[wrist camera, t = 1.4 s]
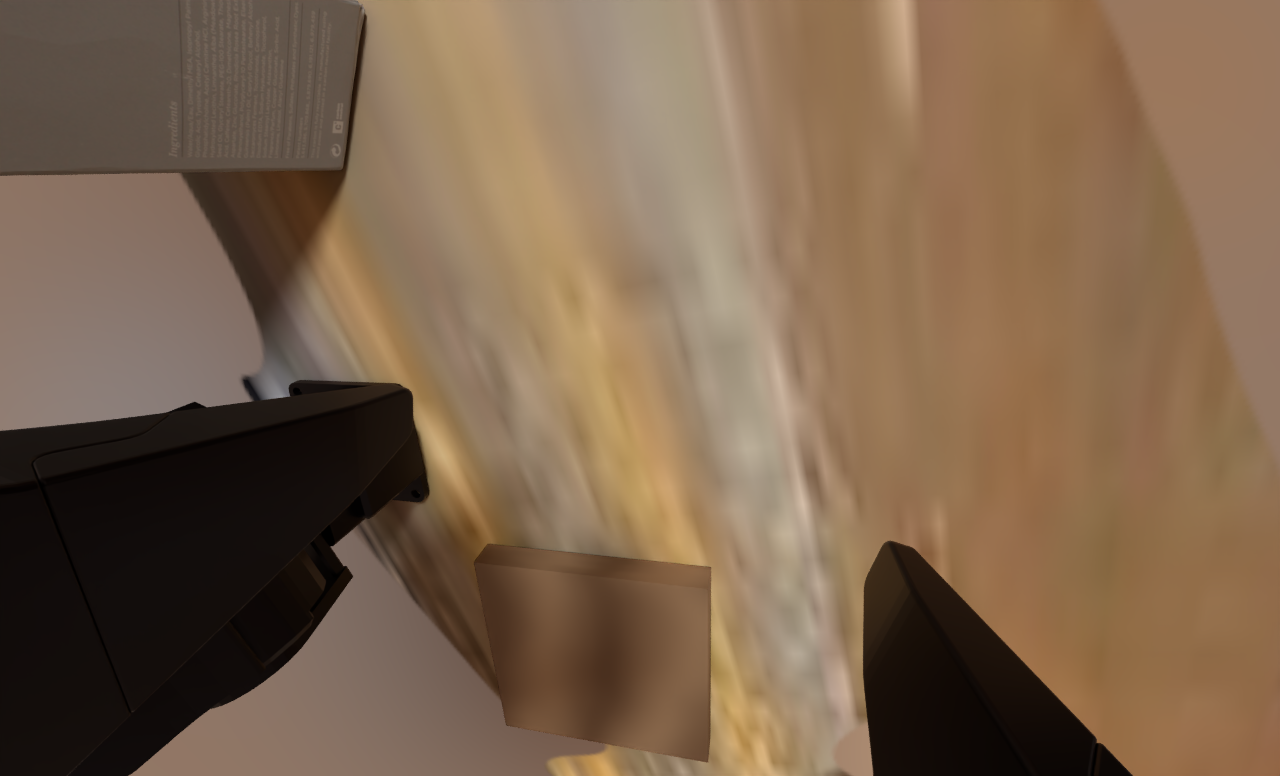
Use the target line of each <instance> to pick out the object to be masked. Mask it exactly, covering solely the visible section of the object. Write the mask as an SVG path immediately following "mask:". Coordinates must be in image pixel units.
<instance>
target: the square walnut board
mask: <svg viewBox="0 0 1280 776" xmlns="http://www.w3.org/2000/svg"><path fill="white" fill-rule="evenodd" d="M474 565H475V570H476V575H477V580H478V585H479V591H480V596H481V601H482V606H483V611H484V616H485V621H486V626H487V631H488V636H489V641H490V646H491V651H492V656H493V661H494V666H495V671H496V676H497V681H498V686H499V691H500V696H501V701H502V706H503V711H504V717H505V722H506V725H507V726H512V727H518V728H523V729H528V730H534V731H539V732H545V733H550V734H556V735H561V736H567V737H572V738H577V739H583V740H588V741H594V742H599V743H605V744H610V745H616V746H621V747H626V748H632V749H637V750H643V751H648V752H654V753H659V754H665V755H670V756H675V757H681V758H686V759H692V760H697V761H703V762H708V757H709V745H710V689H711V567H703V566H693V565H684V564H674V563H665V562H655V561H645V560H636V559H626V558H617V557H607V556H598V555H588V554H579V553H569V552H560V551H550V550H540V549H531V548H521V547H512V546H502V545H493V544H487V546H486V547H485V548H484V550H483V551H482V552H481V554H480V555H479V556H478V558H477V559H476V560H475V562H474Z"/></svg>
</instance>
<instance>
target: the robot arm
mask: <svg viewBox="0 0 1280 776" xmlns="http://www.w3.org/2000/svg"><path fill="white" fill-rule="evenodd" d="M300 390H301V391H300ZM289 393H290V396H291V397H283V398H276V399H268V400H260V401H253V402H246V403H237V404H230V405H223V406H215V407H205V406H203V405H201V404H198V403H196V402H193V403H190V404H187V405H185V406H182V407H180V408H177V409H174V410H172V411H170V412H167V413H160V414H153V415H145V416H137V417H129V418H121V419H113V420H106V421H105V420H104V421H96V422H86V423H77V424H67V425H57V426H48V427H37V428H27V429H17V430H6V431H0V776H128V775H130V774H132V773H133V772H134V771H136V770H137V769H138V768H139V767H141V766H142V765H143V764H144V763H145V762H146V761H148V760H149V759H150V758H151V757H152V756H153V755H155V754H156V753H157V752H158V751H159V750H160V749H162V748H163V747H164V746H165V745H166V744H167V743H169V742H170V741H171V740H172V739H173V738H174V737H176V736H177V735H178V734H179V733H180V732H181V731H183V730H184V729H185V728H186V727H188V726H189V725H190V724H191V723H192V722H194V721H195V720H196V719H197V718H199V717H200V716H201V715H203V714H204V713H205V712H207V711H208V710H209V709H212V708H216V707H219V706H222V705H224V704H227V703H229V702H231V701H233V700H235V699H237V698H239V697H241V696H242V695H244V694H246V693H248V692H249V691H251V690H252V689H254V688H255V687H257V686H258V685H260V684H261V683H263V682H264V681H265V680H267V679H268V678H269V677H270V676H272V675H273V674H274V673H276V672H277V671H278V670H279V669H280V668H282V667H283V666H284V665H285V664H286V663H287V662H288V661H289V660H290V659H291V658H292V657H293V656H294V655H295V654H296V653H297V652H298V651H299V650H300V649H301V648H302V647H303V645H304V644H305V643H306V641H307V640H308V639H309V637H310V636H311V635H312V633H313V632H314V630H315V629H316V628H317V626H318V625H319V624H320V622H321V621H322V619H323V618H324V617H325V615H326V614H327V612H328V611H329V609H330V608H331V607H332V605H333V604H334V603H335V601H336V600H337V598H338V597H339V596H340V594H341V593H342V591H343V590H344V589H345V587H346V586H347V584H348V583H349V581H350V580H351V579H352V577H353V575H352V574H351V572H350V571H349V569H348V568H347V566H343V565H342V563H341V562H340V560H339V559H338V557H337V556H336V554H335V553H334V552H333V550H332V549H331V547H330V546H334V545H335V544H336V543H337V542H338V541H340V540H341V539H342V538H343V537H344V536H345V535H347V534H348V533H349V532H350V531H351V530H353V529H354V528H355V527H356V526H357V525H358V524H360V523H361V522H362V521H363V520H364V519H365V518H367V519H369V518H371V517H373V516H374V515H375V514H376V513H377V512H378V511H380V510H381V509H382V508H383V507H384V506H385V505H387V504H388V503H389V502H390V501H391V500H400V501H411V502H421V501H423V500H424V499H425V498H426V497H427V496H428V494H429V489H428V485H427V480H426V476H425V471H424V467H423V462H422V458H421V453H420V449H419V444H418V440H417V436H416V431H415V427H414V422H413V395H412V392H411V391H410V390H409V389H407V388H404V387H403V386H401V385H400V384H396V383H369V382H341V381H312V380H299V381H296V382H294V383H292V384H290V385H289ZM417 491H418V492H419V493H418V492H417ZM863 678H864V691H865V700H866V709H867V719H868V728H869V737H870V746H871V755H872V765H873V775H874V776H1133V775H1132V774H1131V773H1130V772H1129V771H1128V770H1127V769H1126V768H1125V767H1124V766H1123V765H1122V764H1121V763H1120V762H1119V761H1118V760H1117V759H1116V758H1115V757H1114V755H1113V754H1112V753H1111V752H1110V751H1109V750H1108V749H1107V748H1106V747H1105V746H1104V745H1103V744H1101V743H1097V739H1096V737H1095V736H1094V735H1093V734H1092V733H1091V732H1090V731H1089V730H1088V729H1087V728H1086V727H1085V726H1084V724H1083V723H1082V722H1081V721H1080V720H1079V719H1078V718H1077V717H1076V716H1075V715H1074V714H1073V713H1072V712H1071V711H1070V710H1069V709H1068V708H1067V707H1066V706H1065V705H1064V704H1063V703H1062V702H1061V701H1060V700H1059V699H1058V697H1057V696H1056V695H1055V694H1054V693H1053V692H1052V691H1051V690H1050V689H1049V688H1048V687H1047V686H1046V685H1045V684H1044V683H1043V682H1042V681H1041V680H1040V679H1039V678H1038V677H1037V676H1036V675H1035V674H1034V673H1033V672H1032V670H1031V669H1030V668H1029V667H1028V666H1027V665H1026V664H1025V663H1024V662H1023V661H1022V660H1021V659H1020V658H1019V657H1018V656H1017V655H1016V654H1015V653H1014V652H1013V651H1012V650H1011V649H1010V648H1009V647H1008V646H1007V645H1006V644H1005V642H1004V641H1003V640H1002V639H1001V638H1000V637H999V636H998V635H997V634H996V633H995V632H994V631H993V630H992V629H991V628H990V627H989V626H988V625H987V624H986V623H985V622H984V621H983V620H982V619H981V618H980V617H979V615H978V614H977V613H976V612H975V611H974V610H973V609H972V608H971V607H970V606H969V605H968V604H967V603H966V602H965V601H964V600H963V599H962V598H961V597H960V596H959V595H958V594H957V593H956V592H955V591H954V590H953V588H952V587H951V586H950V585H949V584H948V583H947V582H946V581H945V580H944V579H943V578H942V577H941V576H940V575H939V574H938V573H937V572H936V571H935V570H934V569H933V568H932V567H931V566H930V565H929V564H928V563H927V562H926V560H925V559H924V558H923V557H922V556H921V555H920V554H919V553H918V552H917V551H916V550H915V549H914V548H912V547H910V546H906V545H903V544H900V543H897V542H893V541H887V542H885V543H884V544H883V546H882V547H881V549H880V551H879V553H878V555H877V557H876V559H875V561H874V563H873V565H872V567H871V569H870V571H869V573H868V575H867V577H866V580H865V585H864V621H863Z"/></svg>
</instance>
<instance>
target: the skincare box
mask: <svg viewBox="0 0 1280 776" xmlns="http://www.w3.org/2000/svg"><path fill="white" fill-rule="evenodd" d="M364 14H365V9H364V7H363V5H362V4H360V3H359V2H358V1H356V0H0V176H7V175H73V174H75V175H77V174H120V173H187V172H250V171H326V170H342V168H343V164H344V157H345V151H346V143H347V135H348V126H349V116H350V106H351V98H352V90H353V82H354V76H355V70H356V63H357V55H358V47H359V40H360V35H361V30H362V24H363V20H364Z"/></svg>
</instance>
